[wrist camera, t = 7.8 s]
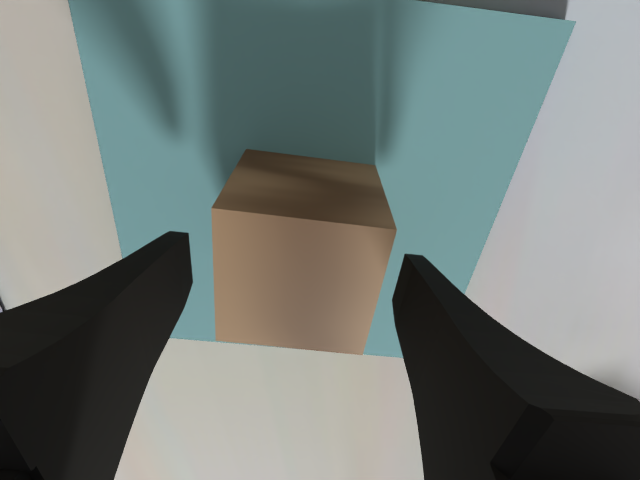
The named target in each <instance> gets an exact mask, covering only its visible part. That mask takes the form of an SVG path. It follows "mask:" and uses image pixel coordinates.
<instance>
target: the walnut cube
mask: <svg viewBox="0 0 640 480" xmlns="http://www.w3.org/2000/svg"><path fill="white" fill-rule="evenodd" d="M211 216H212V246H213V276H214V306H215V336H216V341H223V342H233V343H244V344H254V345H264V346H274V347H285V348H295V349H305V350H316V351H326V352H336V353H347V354H357V355H363V352H364V349H365V345H366V341H367V338H368V334H369V330H370V327H371V323H372V319H373V316H374V312H375V309H376V305H377V301H378V298H379V294H380V290H381V287H382V283H383V279H384V276H385V272H386V269H387V265H388V261H389V258H390V254H391V250H392V247H393V243H394V239H395V236H396V232H397V228H396V225H395V222H394V219H393V216H392V213H391V210H390V207H389V204H388V201H387V198H386V195H385V192H384V189H383V186H382V183H381V180H380V177H379V174H378V171H377V168H376V165H370V164H362V163H354V162H346V161H338V160H330V159H322V158H314V157H307V156H299V155H291V154H283V153H275V152H267V151H259V150H251V149H246V150H245V152H244V153H243V155H242V157H241V158H240V160H239V162H238V163H237V165H236V167H235V169H234V170H233V172H232V174H231V175H230V177H229V179H228V180H227V182H226V184H225V186H224V187H223V189H222V191H221V192H220V194H219V196H218V197H217V199H216V201H215V203H214V204H213V206H212V208H211Z"/></svg>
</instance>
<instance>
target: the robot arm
mask: <svg viewBox="0 0 640 480" xmlns="http://www.w3.org/2000/svg"><path fill="white" fill-rule="evenodd" d="M192 284H193V275H192V265H191V254H190V243H189V233H187V232H176V231H169V232H167V233H165V234H163V235H161V236H160V237H158V238H156V239H155V240H153V241H151V242H150V243H148V244H146V245H145V246H143V247H142V248H140V249H138V250H137V251H135V252H133V253H132V254H130V255H128V256H127V257H125V258H123V259H122V260H120V261H118V262H116V263H114V264H112V265H111V266H109V267H107V268H105V269H103V270H101V271H100V272H98V273H96V274H94V275H92V276H90V277H88V278H86V279H84V280H82V281H80V282H78V283H76V284H73V285H71V286H69V287H67V288H64V289H62V290H60V291H57V292H55V293H53V294H50V295H47V296H45V297H42V298H39V299H37V300H34V301H31V302H29V303H26V304H23V305H21V306H18V307H15V308H12V309H9V310H6V311H2V309H1V307H0V480H114V477H115V474H116V471H117V468H118V465H119V462H120V459H121V456H122V453H123V450H124V447H125V444H126V441H127V438H128V435H129V432H130V429H131V427H132V424H133V421H134V418H135V415H136V413H137V410H138V407H139V404H140V402H141V399H142V397H143V394H144V391H145V389H146V386H147V383H148V381H149V378H150V376H151V374H152V372H153V369H154V367H155V365H156V363H157V361H158V359H159V357H160V355H161V353H162V351H163V349H164V347H165V345H166V343H167V341H168V339H169V338H170V336H171V334H172V332H173V330H174V328H175V326H176V324H177V322H178V320H179V318H180V316H181V314H182V312H183V310H184V308H185V305H186V302H187V299H188V296H189V293H190V290H191V287H192ZM392 306H393V315H394V322H395V328H396V332H397V336H398V340H399V344H400V347H401V351H402V355H403V359H404V362H405V366H406V370H407V373H408V377H409V381H410V385H411V389H412V394H413V399H414V405H415V412H416V418H417V424H418V432H419V439H420V446H421V454H422V462H423V471H424V480H640V402H639V401H638V400H637V399H636V398H633V397H631V396H629V395H627V394H625V393H622V392H620V391H618V390H616V389H614V388H612V387H609V386H607V385H605V384H603V383H601V382H598V381H596V380H594V379H592V378H590V377H588V376H586V375H584V374H582V373H580V372H578V371H576V370H575V369H573V368H571V367H569V366H567V365H565V364H563V363H561V362H560V361H558V360H556V359H554V358H552V357H551V356H549V355H547V354H545V353H544V352H542V351H541V350H539V349H537V348H536V347H534V346H532V345H531V344H529V343H528V342H526V341H524V340H523V339H521V338H520V337H518V336H517V335H515V334H514V333H512V332H511V331H510V330H508V329H507V328H505V327H504V326H503V325H501V324H500V323H498V322H497V321H496V320H494V319H493V318H492V317H491V316H489V315H488V314H487V313H485V312H484V311H483V310H482V309H481V308H479V307H478V306H477V305H476V304H475V303H473V302H472V301H471V300H470V299H469V298H468V297H467V296H465V295H464V294H463V293H462V292H461V291H460V290H459V289H458V288H457V287H456V286H455V285H454V284H452V283H451V282H450V281H449V280H448V279H447V278H446V277H445V276H444V275H443V274H442V273H441V272H440V271H439V270H438V269H437V268H436V267H435V266H434V265H433V264H432V263H431V262H430V261H429V260H428V259H426V258H425V257H424V256H423V255H416V254H404V258H403V262H402V265H401V269H400V272H399V276H398V280H397V283H396V287H395V290H394V294H393V298H392Z"/></svg>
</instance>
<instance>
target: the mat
mask: <svg viewBox="0 0 640 480" xmlns="http://www.w3.org/2000/svg"><path fill="white" fill-rule="evenodd" d="M68 2H69V7H70V12H71V17H72V21H73V26H74V31H75V35H76V40H77V45H78V50H79V54H80V59H81V64H82V69H83V73H84V78H85V83H86V87H87V92H88V97H89V102H90V106H91V111H92V116H93V120H94V125H95V130H96V135H97V139H98V144H99V149H100V154H101V158H102V163H103V168H104V172H105V177H106V182H107V187H108V191H109V196H110V201H111V206H112V210H113V215H114V220H115V224H116V229H117V234H118V239H119V243H120V248H121V253H122V258H125V257H127V256H128V255H130V254H132V253H133V252H135V251H137V250H138V249H140V248H142V247H143V246H145V245H146V244H148V243H150V242H151V241H153V240H155V239H156V238H158V237H160V236H161V235H163V234H165V233H167V232H169V231H176V232H187V233H189V243H190V254H191V265H192V275H193V284H192V287H191V290H190V293H189V296H188V299H187V302H186V305H185V308H184V310H183V312H182V314H181V316H180V318H179V320H178V322H177V324H176V326H175V328H174V330H173V332H172V334H171V336H170V338H176V339H188V340H200V341H211V342H223V341H216V336H215V306H214V276H213V246H212V216H211V208H212V206H213V204H214V203H215V201H216V199H217V197H218V196H219V194H220V192H221V191H222V189H223V187H224V186H225V184H226V182H227V180H228V179H229V177H230V175H231V174H232V172H233V170H234V169H235V167H236V165H237V163H238V162H239V160H240V158H241V157H242V155H243V153H244V152H245V150H246V149H251V150H259V151H267V152H275V153H283V154H291V155H299V156H307V157H314V158H322V159H330V160H338V161H346V162H354V163H362V164H370V165H376V168H377V171H378V174H379V177H380V180H381V183H382V186H383V189H384V192H385V195H386V198H387V201H388V204H389V207H390V210H391V213H392V216H393V219H394V222H395V225H396V228H397V232H396V236H395V239H394V243H393V247H392V250H391V254H390V258H389V261H388V265H387V269H386V272H385V276H384V279H383V283H382V287H381V290H380V294H379V298H378V301H377V305H376V309H375V312H374V316H373V319H372V323H371V327H370V330H369V334H368V338H367V341H366V345H365V349H364V352H363V354H364V355H376V356H388V357H400V358H403V355H402V351H401V347H400V344H399V340H398V336H397V332H396V328H395V322H394V315H393V306H392V298H393V294H394V290H395V287H396V283H397V280H398V276H399V272H400V269H401V265H402V262H403V258H404V254H416V255H423V256H424V257H425V258H426V259H428V260H429V261H430V262H431V263H432V264H433V265H434V266H435V267H436V268H437V269H438V270H439V271H440V272H441V273H442V274H443V275H444V276H445V277H446V278H447V279H448V280H449V281H450V282H451V283H452V284H454V285H455V286H456V287H457V288H458V289H459V290H460V291H461V292H462V293H463V294H465V291H466V289H467V286H468V284H469V281H470V279H471V277H472V274H473V272H474V269H475V267H476V264H477V262H478V259H479V257H480V255H481V252H482V250H483V247H484V245H485V242H486V240H487V238H488V235H489V233H490V230H491V228H492V225H493V223H494V220H495V218H496V216H497V213H498V211H499V208H500V206H501V203H502V201H503V199H504V196H505V194H506V191H507V189H508V186H509V184H510V181H511V179H512V177H513V174H514V172H515V169H516V167H517V164H518V162H519V160H520V157H521V155H522V152H523V150H524V147H525V145H526V142H527V140H528V138H529V135H530V133H531V130H532V128H533V125H534V123H535V121H536V118H537V116H538V113H539V111H540V108H541V106H542V103H543V101H544V99H545V96H546V94H547V91H548V89H549V86H550V84H551V82H552V79H553V77H554V74H555V72H556V69H557V67H558V64H559V62H560V60H561V57H562V55H563V52H564V50H565V47H566V45H567V43H568V40H569V38H570V35H571V33H572V30H573V28H574V26H575V23H576V21H569V20H561V19H554V18H546V17H539V16H531V15H524V14H516V13H508V12H501V11H493V10H486V9H478V8H471V7H463V6H455V5H448V4H440V3H433V2H425V1H418V0H68ZM223 343H233V342H223ZM235 344H244V343H235ZM247 345H254V344H247ZM259 346H264V345H259ZM270 347H274V346H270ZM282 348H285V347H282ZM294 349H295V348H294Z"/></svg>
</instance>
